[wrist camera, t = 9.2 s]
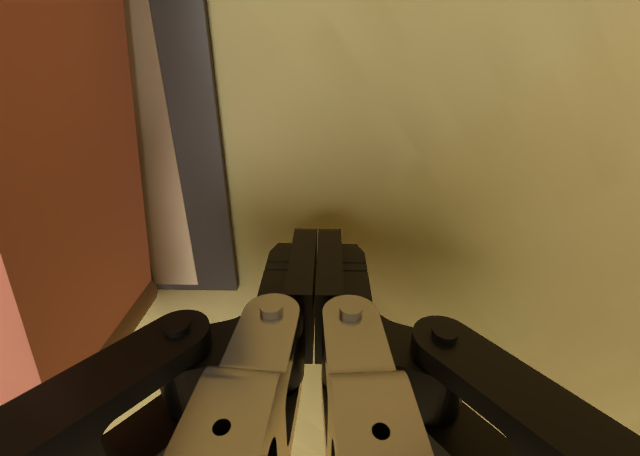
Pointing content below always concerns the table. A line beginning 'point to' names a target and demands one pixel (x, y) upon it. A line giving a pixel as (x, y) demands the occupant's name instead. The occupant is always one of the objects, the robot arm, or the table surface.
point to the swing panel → (67, 189)
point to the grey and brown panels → (180, 145)
